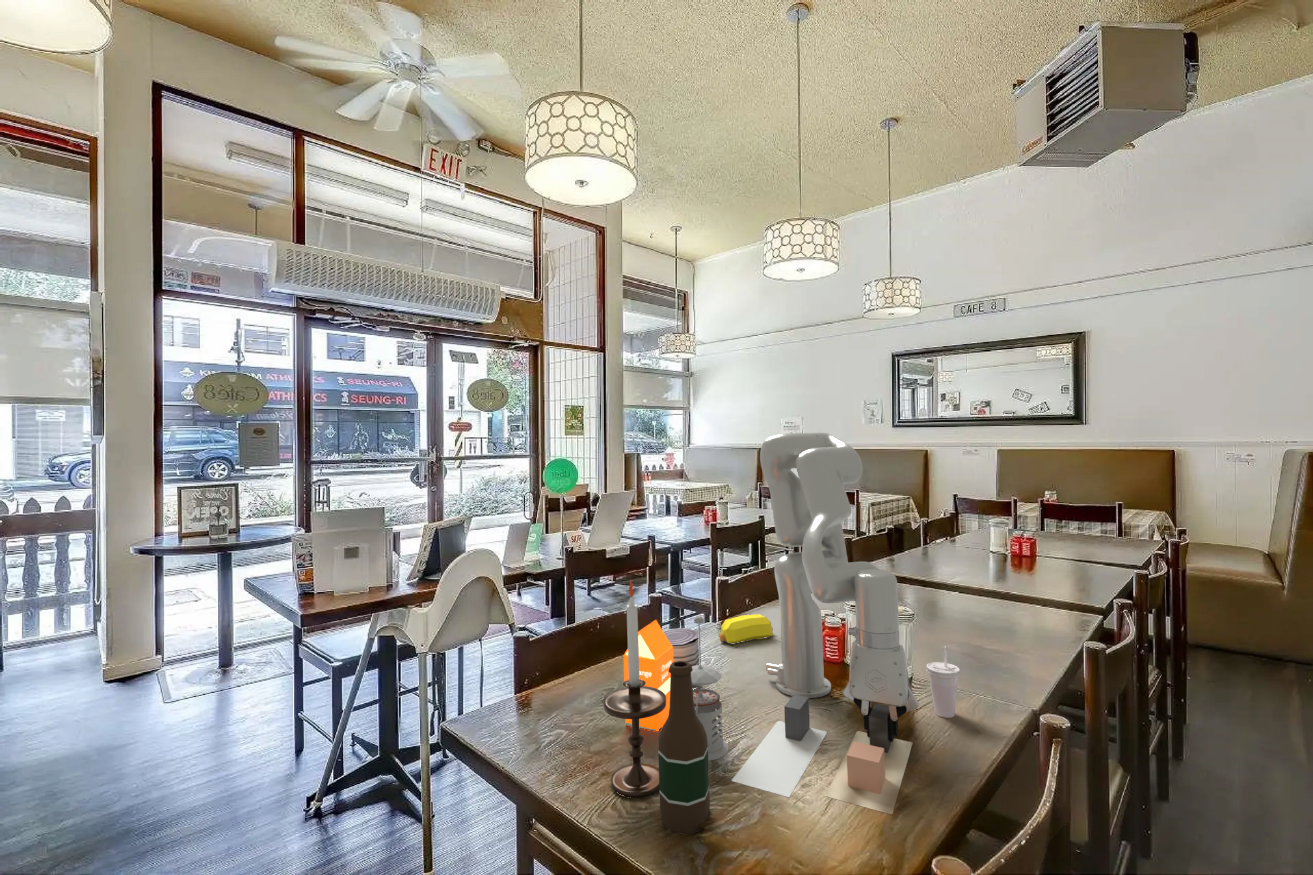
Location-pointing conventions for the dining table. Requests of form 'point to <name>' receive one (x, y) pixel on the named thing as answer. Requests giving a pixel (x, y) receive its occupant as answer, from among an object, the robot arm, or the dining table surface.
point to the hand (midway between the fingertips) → (881, 735)
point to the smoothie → (943, 686)
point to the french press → (708, 704)
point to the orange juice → (653, 669)
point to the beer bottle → (683, 758)
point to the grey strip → (783, 751)
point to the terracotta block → (866, 767)
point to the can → (684, 645)
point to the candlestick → (635, 717)
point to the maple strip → (894, 766)
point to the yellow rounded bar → (745, 628)
